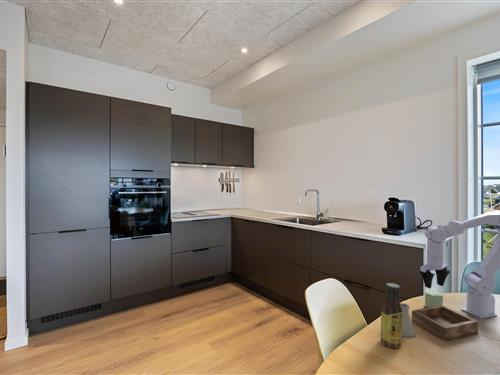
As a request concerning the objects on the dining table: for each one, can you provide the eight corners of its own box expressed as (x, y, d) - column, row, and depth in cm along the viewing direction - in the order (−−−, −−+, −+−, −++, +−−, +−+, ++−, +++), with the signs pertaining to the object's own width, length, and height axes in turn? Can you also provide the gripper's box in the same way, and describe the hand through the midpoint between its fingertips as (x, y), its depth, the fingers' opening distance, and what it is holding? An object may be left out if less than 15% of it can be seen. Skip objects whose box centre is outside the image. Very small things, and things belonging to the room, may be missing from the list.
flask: (409, 327, 98) (409, 301, 98) (419, 338, 91) (420, 310, 91) (389, 326, 99) (389, 300, 99) (397, 337, 92) (398, 309, 92)
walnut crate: (441, 315, 107) (442, 305, 107) (477, 333, 94) (478, 321, 94) (411, 321, 102) (412, 310, 102) (445, 341, 90) (445, 328, 89)
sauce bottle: (393, 351, 84) (395, 290, 83) (376, 341, 89) (377, 283, 89) (406, 346, 87) (407, 286, 86) (388, 336, 92) (389, 280, 92)
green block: (432, 304, 117) (432, 291, 117) (442, 309, 113) (442, 295, 113) (424, 305, 116) (425, 292, 115) (434, 310, 111) (435, 296, 111)
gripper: (437, 251, 119) (436, 281, 120) (414, 254, 114) (413, 285, 115) (453, 255, 113) (453, 286, 113) (429, 258, 108) (429, 291, 108)
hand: (434, 286), depth 113 cm, fingers open, 7 cm apart
